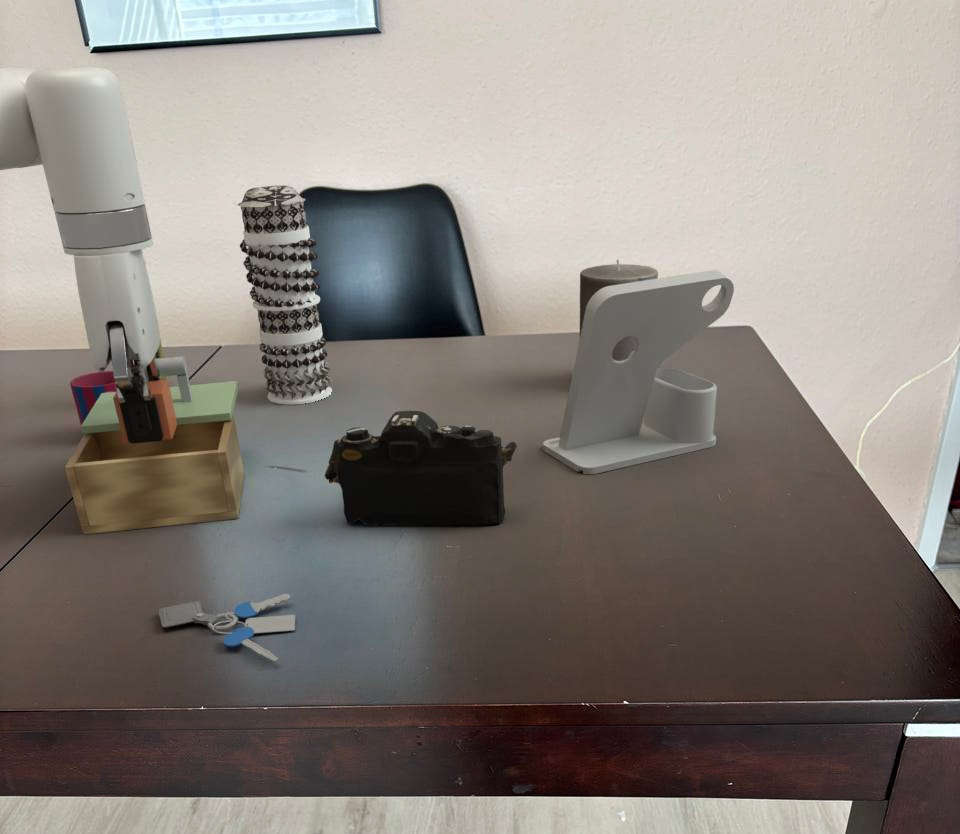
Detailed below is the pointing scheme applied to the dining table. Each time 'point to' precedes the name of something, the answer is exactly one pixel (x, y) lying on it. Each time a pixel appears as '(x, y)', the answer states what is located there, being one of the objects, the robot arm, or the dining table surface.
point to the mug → (91, 390)
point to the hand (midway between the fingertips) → (149, 430)
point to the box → (157, 478)
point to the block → (164, 405)
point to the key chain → (233, 621)
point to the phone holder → (640, 376)
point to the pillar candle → (610, 276)
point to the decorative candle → (285, 294)
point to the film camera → (420, 473)
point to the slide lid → (187, 400)
